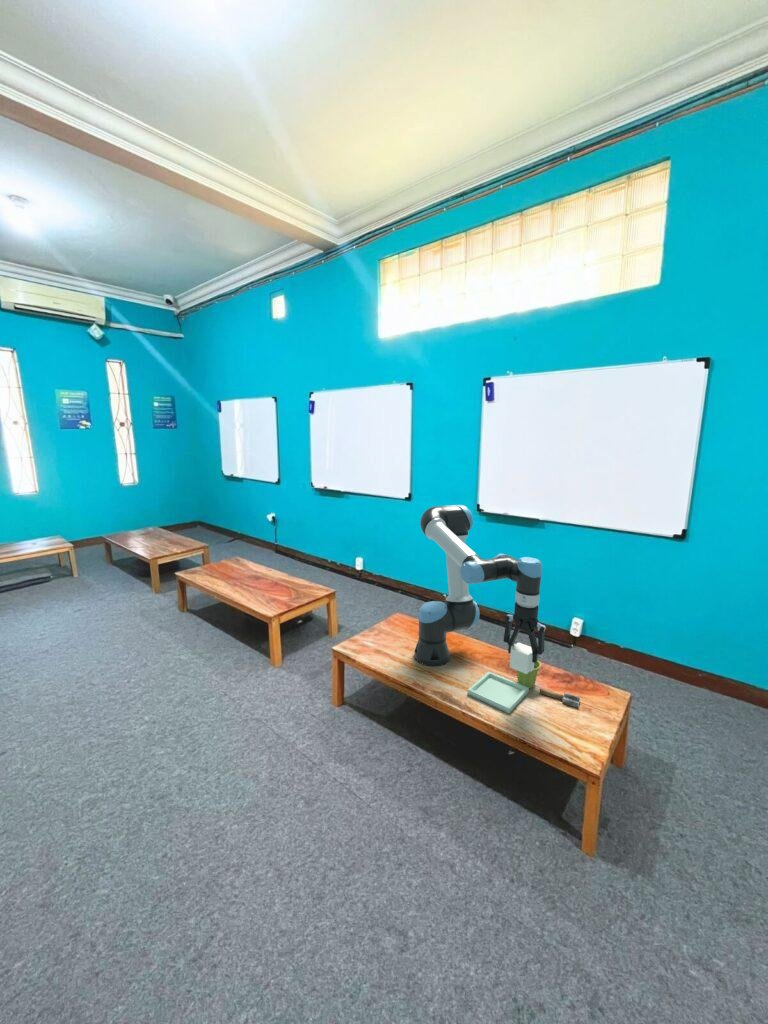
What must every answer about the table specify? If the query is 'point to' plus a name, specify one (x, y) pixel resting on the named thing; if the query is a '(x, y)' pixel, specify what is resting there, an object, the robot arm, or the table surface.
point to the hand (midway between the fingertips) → (521, 665)
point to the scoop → (563, 698)
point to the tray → (498, 692)
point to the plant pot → (528, 676)
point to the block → (520, 657)
